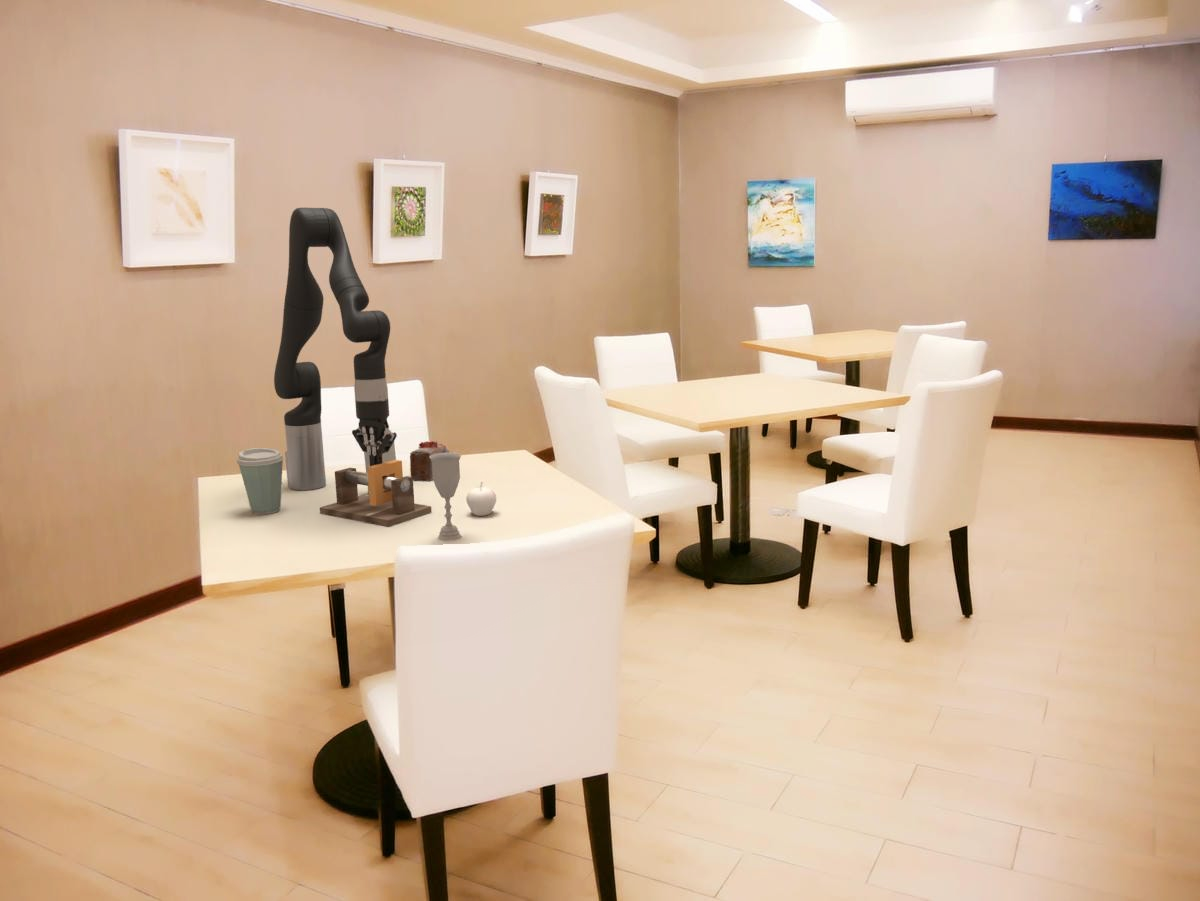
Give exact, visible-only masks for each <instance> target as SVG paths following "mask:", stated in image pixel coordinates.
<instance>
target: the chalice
mask: <svg viewBox="0 0 1200 901" xmlns="http://www.w3.org/2000/svg"><path fill="white" fill-rule="evenodd" d="M461 457H462V454H460V453H458V452H449V453H437V454H433V455H430V456H429V458H430V460H431V461H432V474H433V479H432V480H433V483H434V486H435V488H436V490H437V492H438V494H439V495H440V496H439V497H441V498H442V499H444V501H445V505H444V509H445V511H446V512H445V514H444V517H445V519H446V523H445V524H444V525H443V526H442V527H441V528H440V531H439V534H438V536H437V539H439V540H440V539H441V541H453V540H455V541H456V540H458V539H460V538H462V535H461V533H460V531H459V528H458V527H457V526H456V525H454V524H453V523H452V520H451V519H452V516H453V514H452V513H451V508H453V507H452V505H451V502H450V501H451V498H454V497H455V494H456V491H457V488H458V487H459V486H458V485H459V483H460V479H461V470H460V459H461ZM457 538H458V539H457Z"/></svg>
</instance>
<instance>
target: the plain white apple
mask: <svg viewBox="0 0 1200 901" xmlns="http://www.w3.org/2000/svg"><path fill="white" fill-rule="evenodd" d="M483 483H484V482H483V481H481V482H480V483H479V484H480V485H479V487H476V488H472V489H470V490H469V491H468V492H467V495H466V498H465V499H466V503H467V505H468V508H469V510H470V512H471V513H472V514H473V515H474V516H479V517H485V516H488V515H490V514H491V513H492V512H493V510H494V507H495V505H496V502H497V494H496V492H495V490H493V488H491V487H485V486H483Z"/></svg>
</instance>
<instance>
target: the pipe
mask: <svg viewBox="0 0 1200 901" xmlns="http://www.w3.org/2000/svg"><path fill="white" fill-rule="evenodd" d="M382 479H383V489H390V490H392V488H391V480H394V479H398V478H396V477H390V476H386V475H385V476H382ZM344 480H345V481H346V482H347V483H353V484H357V485H360V486H365V487H366V486H367V487H368V486H369V481H368V473H366V472H364V471H363V472H362V471H357V470H356V471H351V470H348V471H346V472H345V474H344ZM406 480H408V479H404V480H403V481H402V483H401V490H403V492H407V491H408V490H409V488H410V482H409V480H408V481H406ZM404 481H405V482H404ZM402 484H403V485H402ZM404 485H405V486H404ZM402 487H403V488H402ZM405 490H406V491H405Z"/></svg>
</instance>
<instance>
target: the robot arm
mask: <svg viewBox="0 0 1200 901" xmlns="http://www.w3.org/2000/svg"><path fill="white" fill-rule="evenodd" d="M288 229H289V230H288V231H289V233H288V234H289V235H288V236H289V237H288V238H289V239H288V240H289V241H288V269H287V271H288V272H287V282H286V286H285V287H286V289H285V297H284V303H283V304H284V305H283V312H282V313H283V314H282V315H283V317H282V327H281V338H280V345H279V349H278V354H277V359H276V363H275V370H274V375H273V377H274V378H273V383H274V384H273V385H274V386H273V387H274V390H275V393H276V395H277V396H278V397H279V398H280V399H283V400H292V399H293V400H294V399H301V401H300V402H299V403H298V405H297V406H295V407H294V408H292V409H290V410H289V411H287V412H286V413H284V416H283V418H284V419H283V420H284V431H285V441H286V450H285V453H284V456H285V467H286V468H285V469H286V478H287V480H286V482H287V487H289V488H290V489H292V490H294V491H310V490H318V489H321V488H324V487H325V486H326V485H327V482H326V481H327V480H326V468H325V466H326V464H325V456H324V445H323V444H324V442H323V440H324V439H323V431H322V430H323V429H322V418H321V417H322V386H321V385H322V382H321V374H320V371H319V368H318V366H317V365H316V364H315V363H314V362H311V361H301V362H297V361H298V358H299V356H300V353H301V351H302V349H303V348H304V347H305V346H306V344H307V343H308V341H309V340H310V339H311V338H312V336H313V335H314V334H315V333H316V331H317V330H318V328H319V327H320V324H321V322H322V317H323V308H324V301H325V300H324V294H323V291H322V289H321V286H320V285H319V282H317V279H316V278H315V277H314V275H313V272H312V271H311V268H310V265H309V255H308V254H309V249H310V247H311V248H326V247H327V248H329V250H330V251H331V253H332V256H333V257H332V263H331V266H330V270H329V274H328V282H329V283H328V284H329V287H330V289H331V292H332V293H333V295H334V298H335V300H336V302H337V303H338V307H339V310H340V315H341V324H342V331H343V334H344V336H345V337H346V338H347V340H348V341H350V342H352V343H355V344H356V343H357V344H358V343H369V342H370V343H369V346H368V348H367V349H366V350H364V351H362V352H360V353H359V352H358V353H357V354H355V355H354V356H353V371H354V372H353V373H354V375H353V376H354V388H353V389H354V403H355V416H356V419H358V420H359V421H358V427H357V428H356V429H353V430H351V431H352V432H351V434H352V435H353V437H354V439H355V441H356V443H357V444H358V446H359V447H360V449H361V451H362V452H363V453H364V452H367V453H368V455H369V461H370V466H373V465H377V464H381V463H383V462H382V454H383V453H386V452H388V451H389V449H390V448H391V446H392V444H393V442H394V443H395V440H396V438H397V436H398V435H397V433H396V432H392V430H390V429H389V428H390V426H389V423H388V418H389V416H390V407H389V406H390V405H389V390H388V388H389V387H388V383H387V376H386V375H387V374H386V362H385V361H386V355H387V349H388V344H389V340H390V336H391V335H390V334H391V322H390V318H389V316H388V315H387V314H386V313H385V312H384V311H383V310H378V309H377V310H365V309H366V308H367V307H368V306H369V303H370V297H369V294H368V292H367V290H366V288H365V286H364V284H363V282H362V280H361V278H360V277H359V274H358V272H357V270H356V267H355V264H354V261H353V259H352V254H351V252H350V248H349V244H348V241H347V237H346V234H345V232H344V228H343V225H342V222H341V220H340V218H339V216H338V214H337V213H336V211H335V210H334V209H331V208H328V207H327V208H326V207H296V208H295V209H294V210H292V212H291V216H290V221H289V228H288ZM370 440H371V441H370ZM364 443H365V445H366V446H365V445H364Z"/></svg>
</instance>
